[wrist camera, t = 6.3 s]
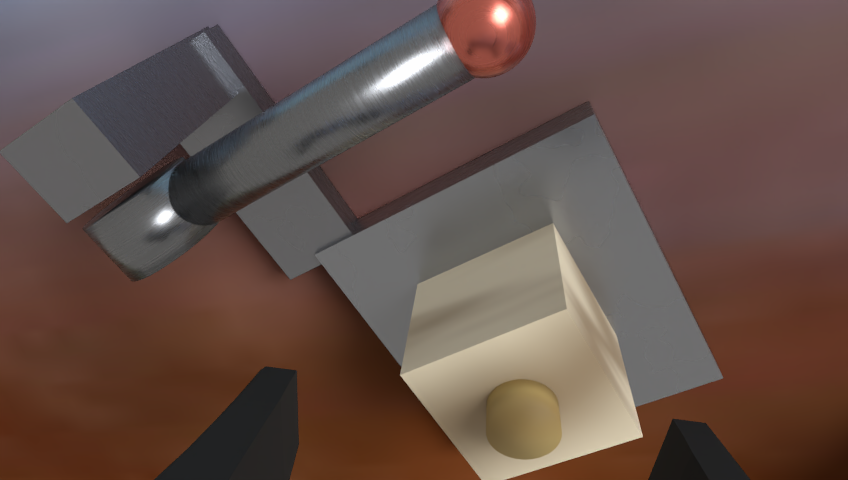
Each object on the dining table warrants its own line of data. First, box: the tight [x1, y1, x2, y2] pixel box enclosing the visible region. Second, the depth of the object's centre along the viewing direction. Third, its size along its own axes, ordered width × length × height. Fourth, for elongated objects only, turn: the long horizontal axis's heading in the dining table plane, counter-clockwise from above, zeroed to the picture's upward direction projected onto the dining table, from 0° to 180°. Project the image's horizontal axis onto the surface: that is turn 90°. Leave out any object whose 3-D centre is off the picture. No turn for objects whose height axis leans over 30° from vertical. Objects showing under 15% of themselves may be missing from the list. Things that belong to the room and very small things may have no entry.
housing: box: [400, 223, 643, 480], centre depth 19 cm, size 5×5×6 cm
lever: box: [83, 0, 536, 281], centre depth 14 cm, size 2×11×3 cm, turn 121°
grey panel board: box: [0, 24, 723, 407], centre depth 18 cm, size 19×12×7 cm, turn 31°
